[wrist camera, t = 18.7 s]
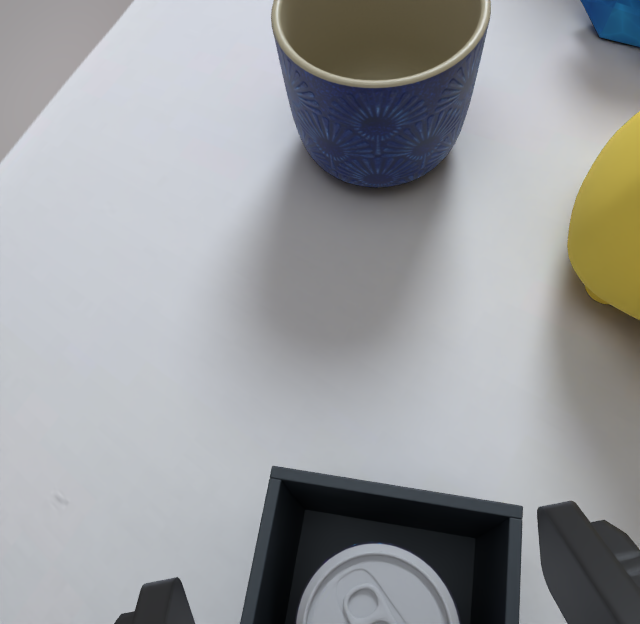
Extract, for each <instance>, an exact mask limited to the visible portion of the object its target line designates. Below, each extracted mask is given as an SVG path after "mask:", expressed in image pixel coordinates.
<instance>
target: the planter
mask: <svg viewBox="0 0 640 624" xmlns="http://www.w3.org/2000/svg"><path fill="white" fill-rule="evenodd" d="M490 14H491V2H490V0H274V2H273V6H272V14H271V22H272V29H273V34H274V38H275V42H276V47H277V51H278V56H279V60H280V65H281V69H282V74H283V78H284V82H285V87H286V91H287V96H288V100H289V104H290V107H291V111H292V115H293V118H294V121H295V124H296V127H297V130H298V132H299V135H300V138H301V140H302V142H303V144H304V146H305V148H306V150H307V151H308V153H309V154H310V155H311V157H312V158H313V159H314V161H315V162H316V163H317V164H318V165H319V166H320V167H322V168H323V169H324V170H325V171H326V172H328V173H329V174H331V175H333V176H334V177H336V178H338V179H340V180H343V181H345V182H348V183H351V184H355V185H359V186H365V187H389V186H395V185H400V184H403V183H407V182H410V181H412V180H415V179H417V178H419V177H421V176H423V175H425V174H426V173H428V172H429V171H431V170H432V169H433V168H434V167H436V166H437V165H438V164H439V163H440V162H441V161H442V160H443V159H444V158H445V157H446V155H447V154H448V153H449V151H450V150H451V148H452V147H453V145H454V144H455V142H456V140H457V138H458V136H459V133H460V131H461V128H462V126H463V123H464V120H465V117H466V114H467V111H468V107H469V104H470V100H471V96H472V93H473V89H474V85H475V80H476V76H477V72H478V68H479V63H480V59H481V55H482V50H483V46H484V42H485V37H486V33H487V28H488V24H489V20H490Z"/></svg>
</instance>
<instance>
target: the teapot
mask: <svg viewBox="0 0 640 624" xmlns="http://www.w3.org/2000/svg"><path fill="white" fill-rule="evenodd" d="M567 247H568V255H569V259H570V262H571V264H572V267H573V269H574V270H575V272H576V274H577V275H578V277H579V278H580V280H581V281H582V282H583V283H584V284H585V288H586V291H587V293H588V294H589V296H590V297H591V298H592V299H594V300H595V301H597V302H599V303H602V304H611V305H612V306H614V307H615V308H617V309H619V310H621V311H623V312H624V313H626V314H628V315H630V316H632V317H634V318H636V319H638V320H640V111H639V112H638V113H637V114H635V115H634V116H633V117H632V118H631V119H630V120H629V121H628V122H626V123H625V124H624V125H623V126H622V127H621V128H620V129H619V130H618V131H617V132H616V133H615V134H614V135H613V136H612V138H611V139H610V140H609V141H608V143H607V144H606V145H605V147H604V148H603V149H602V151H601V152H600V154H599V155H598V157H597V159H596V160H595V162H594V163H593V165H592V167H591V168H590V170H589V172H588V174H587V176H586V178H585V179H584V181H583V183H582V185H581V187H580V190H579V192H578V194H577V197H576V200H575V203H574V207H573V210H572V215H571V220H570V225H569V234H568V244H567Z"/></svg>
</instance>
